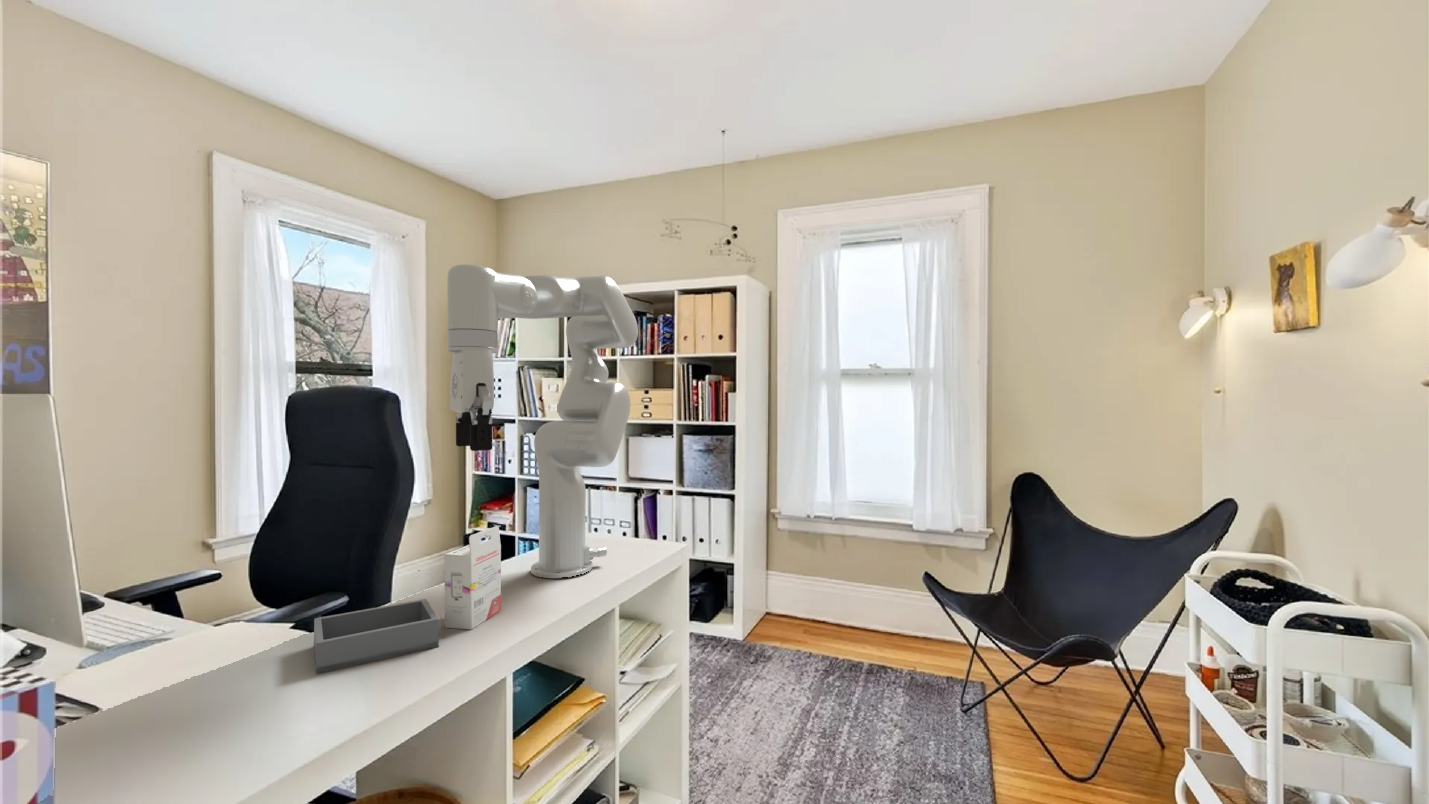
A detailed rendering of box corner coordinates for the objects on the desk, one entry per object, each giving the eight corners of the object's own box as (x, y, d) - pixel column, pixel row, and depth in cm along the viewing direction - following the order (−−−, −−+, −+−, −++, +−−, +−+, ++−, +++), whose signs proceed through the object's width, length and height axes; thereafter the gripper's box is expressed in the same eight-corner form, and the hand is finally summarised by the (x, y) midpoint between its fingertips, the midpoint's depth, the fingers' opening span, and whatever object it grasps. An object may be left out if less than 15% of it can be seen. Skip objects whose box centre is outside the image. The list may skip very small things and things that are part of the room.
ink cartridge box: (475, 609, 98) (476, 523, 98) (501, 611, 97) (502, 524, 97) (442, 628, 90) (442, 534, 90) (470, 630, 89) (471, 536, 89)
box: (425, 623, 92) (425, 598, 92) (438, 646, 83) (438, 619, 83) (314, 646, 83) (314, 618, 83) (315, 674, 74) (316, 643, 74)
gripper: (437, 345, 98) (437, 445, 98) (460, 337, 84) (461, 453, 84) (483, 347, 102) (483, 443, 103) (512, 340, 88) (512, 450, 89)
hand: (473, 447), depth 93 cm, fingers open, 9 cm apart
